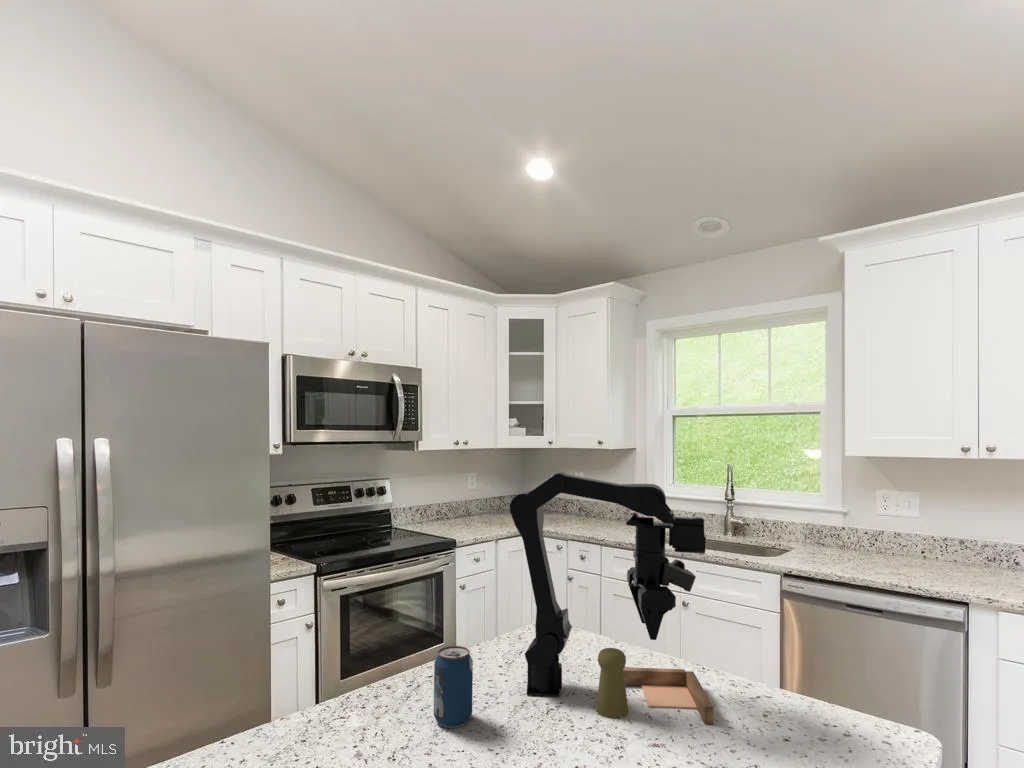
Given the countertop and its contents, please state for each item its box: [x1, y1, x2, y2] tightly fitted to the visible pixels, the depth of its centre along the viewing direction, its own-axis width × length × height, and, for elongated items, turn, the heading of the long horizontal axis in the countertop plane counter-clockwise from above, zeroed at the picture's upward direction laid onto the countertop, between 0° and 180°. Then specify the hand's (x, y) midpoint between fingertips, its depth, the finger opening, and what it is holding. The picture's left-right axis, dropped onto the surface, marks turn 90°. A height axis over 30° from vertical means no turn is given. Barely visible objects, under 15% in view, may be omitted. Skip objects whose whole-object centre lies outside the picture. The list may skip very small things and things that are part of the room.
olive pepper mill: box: [595, 647, 629, 719], centre depth 112 cm, size 6×6×11 cm
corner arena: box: [623, 666, 715, 725], centre depth 116 cm, size 18×17×3 cm
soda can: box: [433, 645, 474, 729], centre depth 108 cm, size 7×7×12 cm
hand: (648, 631), depth 116 cm, fingers open, 9 cm apart
